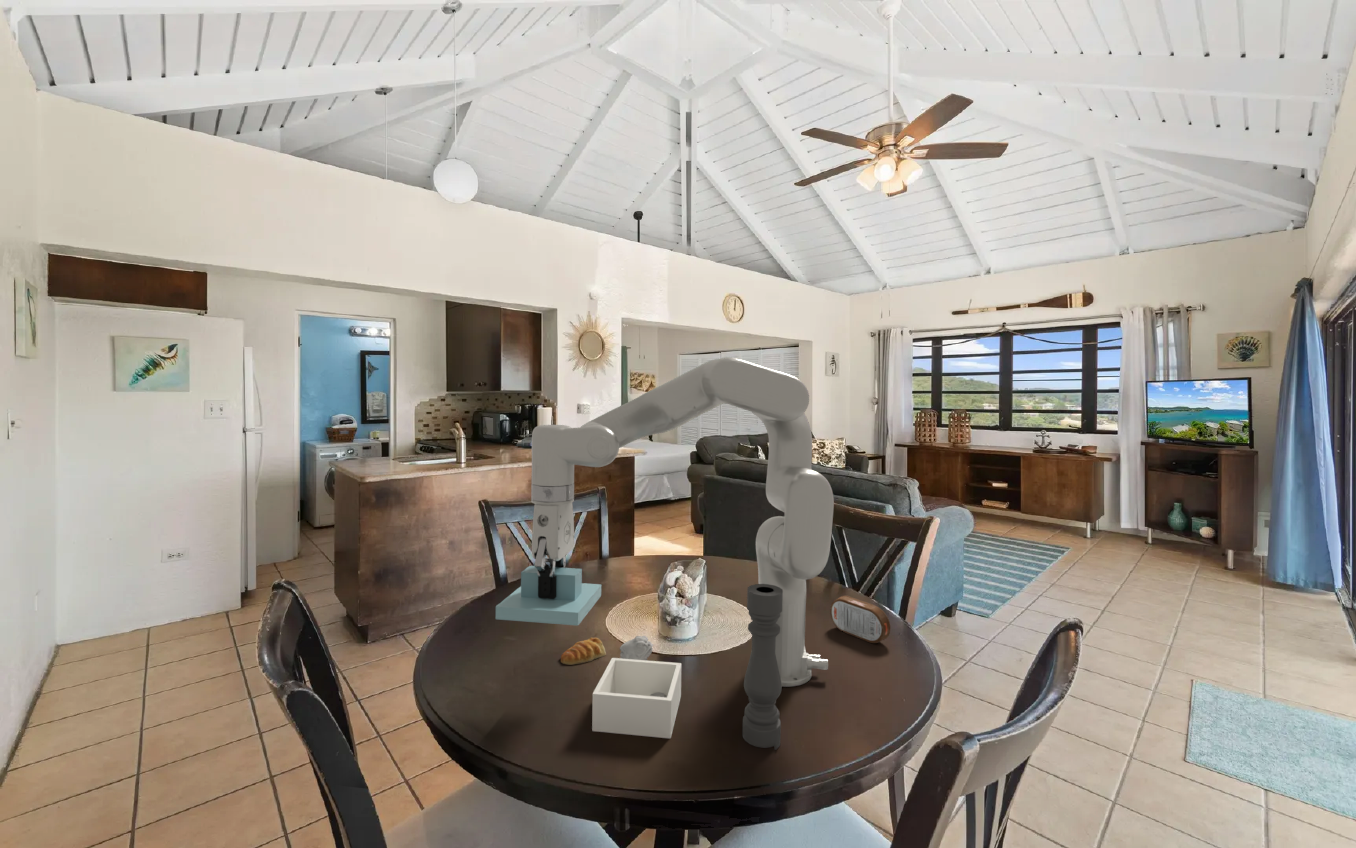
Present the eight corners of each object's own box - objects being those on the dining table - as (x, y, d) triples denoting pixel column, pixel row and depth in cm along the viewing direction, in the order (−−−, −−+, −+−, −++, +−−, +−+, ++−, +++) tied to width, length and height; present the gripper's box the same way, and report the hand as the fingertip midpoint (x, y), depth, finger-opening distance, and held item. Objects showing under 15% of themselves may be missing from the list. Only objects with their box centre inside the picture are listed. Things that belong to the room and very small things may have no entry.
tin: (890, 646, 130) (892, 609, 130) (882, 649, 128) (884, 612, 128) (835, 624, 142) (836, 591, 141) (827, 627, 140) (828, 593, 140)
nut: (667, 704, 103) (667, 693, 102) (665, 713, 100) (665, 702, 100) (651, 702, 103) (651, 691, 103) (648, 711, 100) (648, 700, 100)
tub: (680, 700, 105) (681, 663, 105) (670, 743, 92) (671, 700, 92) (611, 694, 107) (612, 657, 107) (592, 735, 94) (592, 693, 94)
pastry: (572, 674, 115) (572, 655, 115) (553, 662, 120) (553, 644, 120) (608, 659, 122) (608, 641, 122) (589, 649, 127) (589, 632, 126)
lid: (601, 595, 111) (601, 561, 110) (578, 625, 96) (578, 586, 96) (528, 590, 113) (529, 557, 112) (495, 619, 98) (495, 580, 98)
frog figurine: (648, 679, 113) (648, 645, 112) (614, 675, 114) (614, 640, 114) (656, 665, 119) (657, 632, 118) (624, 661, 120) (624, 628, 120)
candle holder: (776, 729, 97) (780, 583, 95) (784, 752, 91) (788, 596, 89) (739, 729, 97) (743, 583, 95) (745, 752, 90) (748, 596, 89)
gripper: (557, 503, 95) (555, 612, 96) (586, 487, 111) (585, 580, 112) (513, 501, 96) (512, 608, 97) (549, 485, 112) (548, 577, 113)
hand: (551, 592), depth 104 cm, fingers closed on lid, 4 cm apart
